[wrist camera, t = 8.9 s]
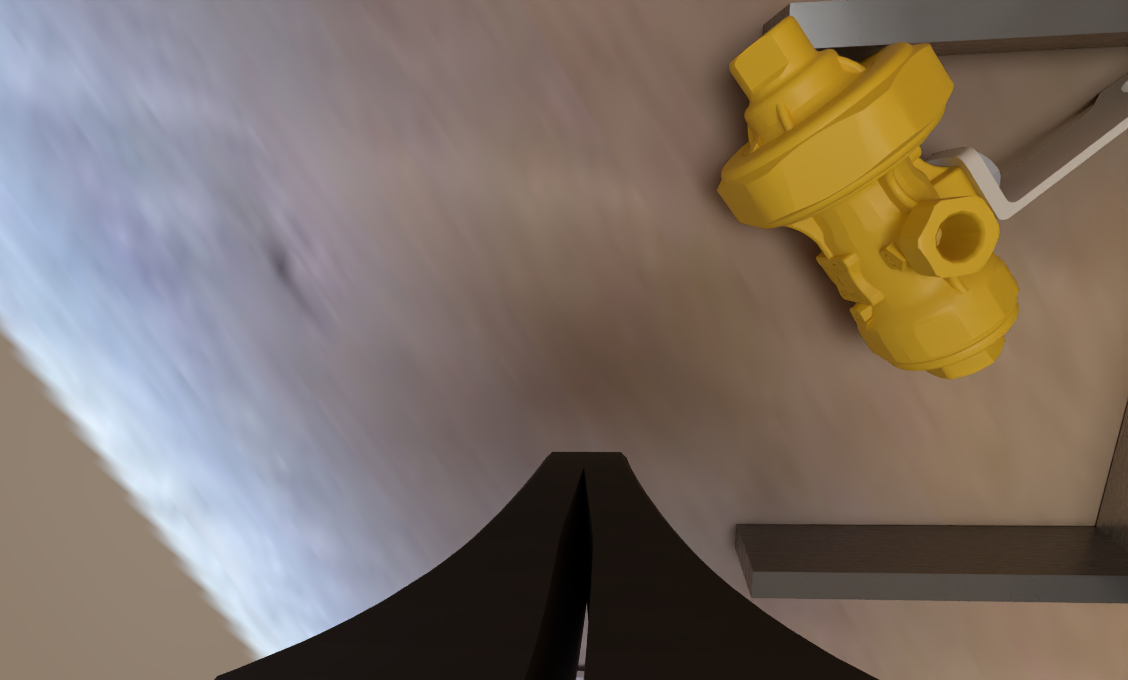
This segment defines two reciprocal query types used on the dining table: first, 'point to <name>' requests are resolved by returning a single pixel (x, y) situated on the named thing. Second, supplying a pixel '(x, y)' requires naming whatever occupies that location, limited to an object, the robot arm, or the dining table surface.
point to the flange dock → (951, 553)
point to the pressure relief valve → (892, 191)
